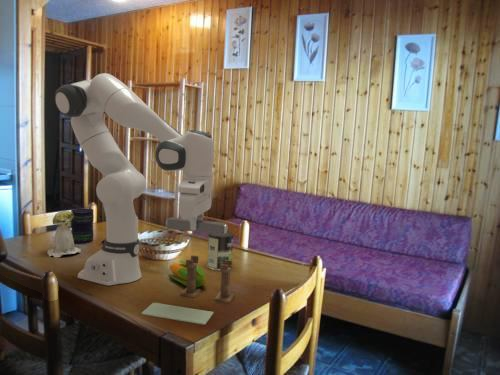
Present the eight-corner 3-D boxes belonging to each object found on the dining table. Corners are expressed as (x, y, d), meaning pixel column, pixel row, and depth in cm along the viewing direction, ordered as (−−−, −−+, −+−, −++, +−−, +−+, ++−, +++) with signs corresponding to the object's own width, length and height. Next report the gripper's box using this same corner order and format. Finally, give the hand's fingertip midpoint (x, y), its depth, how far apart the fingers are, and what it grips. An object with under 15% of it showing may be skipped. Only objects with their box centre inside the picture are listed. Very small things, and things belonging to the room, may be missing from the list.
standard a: (180, 295, 137) (181, 259, 135) (187, 288, 143) (188, 254, 141) (194, 297, 136) (196, 261, 134) (200, 290, 142) (202, 256, 140)
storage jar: (88, 245, 187) (88, 213, 185) (66, 243, 187) (66, 211, 185) (96, 239, 197) (96, 208, 195) (76, 238, 197) (76, 207, 195)
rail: (165, 228, 127) (165, 218, 127) (169, 226, 130) (169, 217, 130) (224, 234, 124) (225, 225, 123) (227, 232, 127) (227, 223, 126)
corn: (196, 271, 138) (162, 256, 152) (194, 293, 139) (160, 276, 153) (212, 268, 144) (178, 254, 157) (210, 289, 145) (176, 273, 158)
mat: (141, 314, 122) (141, 312, 122) (153, 303, 130) (153, 302, 129) (205, 324, 118) (205, 323, 117) (213, 313, 125) (213, 311, 125)
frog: (86, 254, 174) (86, 212, 172) (55, 260, 164) (56, 215, 162) (72, 247, 182) (73, 207, 179) (43, 253, 172) (42, 210, 170)
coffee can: (234, 264, 172) (236, 231, 170) (228, 272, 162) (230, 237, 160) (211, 261, 174) (212, 229, 172) (203, 269, 164) (205, 234, 162)
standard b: (214, 300, 135) (216, 264, 133) (220, 293, 140) (221, 259, 139) (229, 302, 133) (231, 266, 132) (234, 295, 139) (236, 260, 138)
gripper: (198, 179, 136) (197, 220, 138) (175, 187, 116) (174, 234, 118) (217, 181, 134) (215, 222, 136) (197, 189, 115) (195, 237, 116)
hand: (196, 228), depth 127 cm, fingers closed on rail, 3 cm apart
